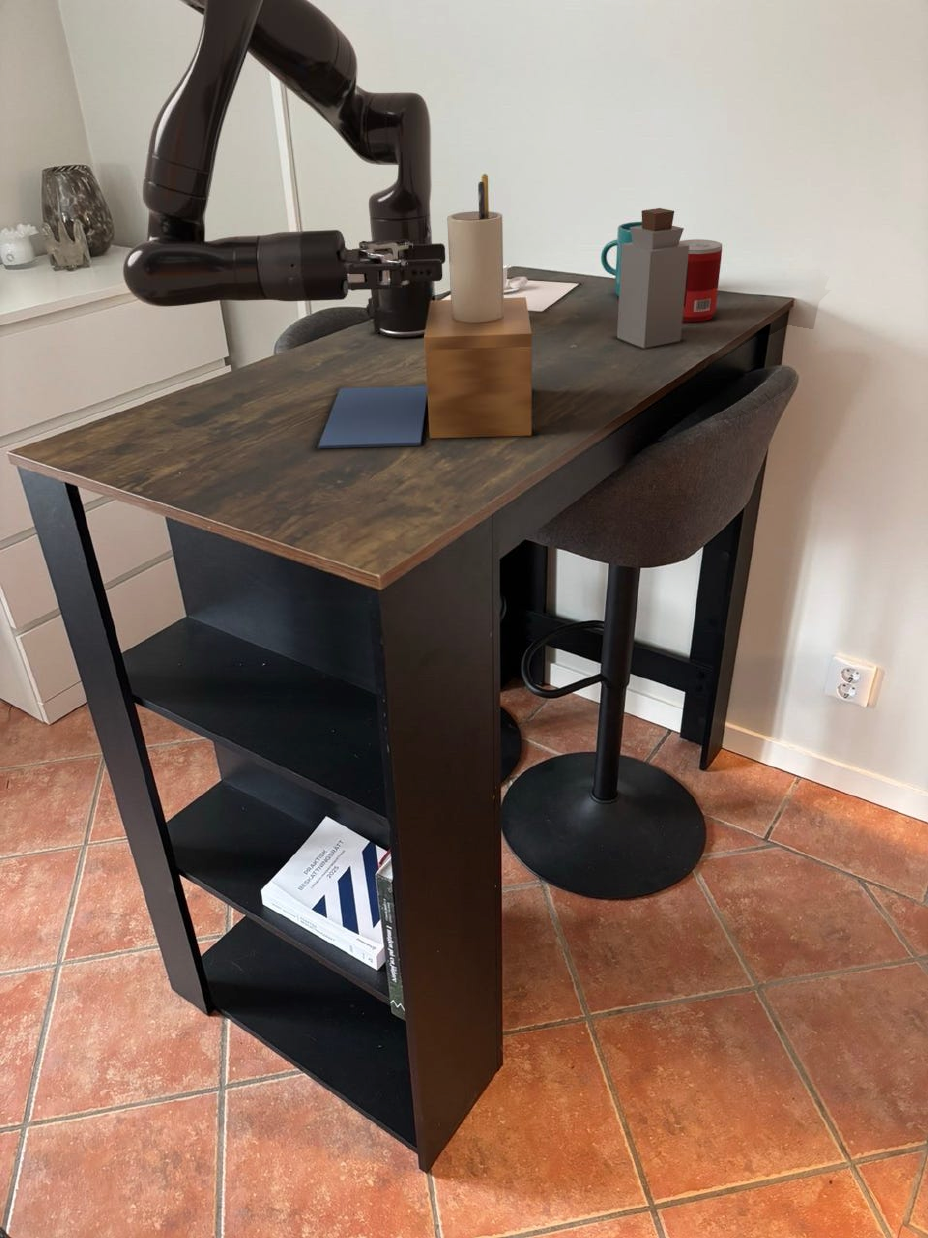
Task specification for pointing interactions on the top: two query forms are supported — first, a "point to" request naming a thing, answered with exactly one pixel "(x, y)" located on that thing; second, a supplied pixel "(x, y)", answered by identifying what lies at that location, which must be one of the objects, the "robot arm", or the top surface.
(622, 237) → the cup
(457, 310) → the holder
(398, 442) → the mat
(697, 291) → the canned food
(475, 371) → the wooden shelf box
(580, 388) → the top surface
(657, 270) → the perfume bottle
